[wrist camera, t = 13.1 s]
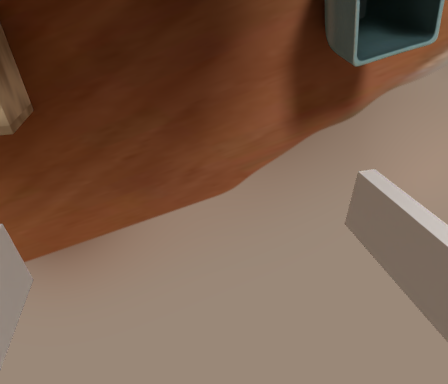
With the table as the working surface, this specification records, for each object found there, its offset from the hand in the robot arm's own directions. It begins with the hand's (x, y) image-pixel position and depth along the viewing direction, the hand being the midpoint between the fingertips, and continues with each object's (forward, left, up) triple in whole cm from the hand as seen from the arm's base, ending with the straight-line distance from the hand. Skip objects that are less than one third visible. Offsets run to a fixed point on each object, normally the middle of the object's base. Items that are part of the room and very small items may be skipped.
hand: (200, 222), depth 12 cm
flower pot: (-6, +21, -27) cm, 35 cm away
